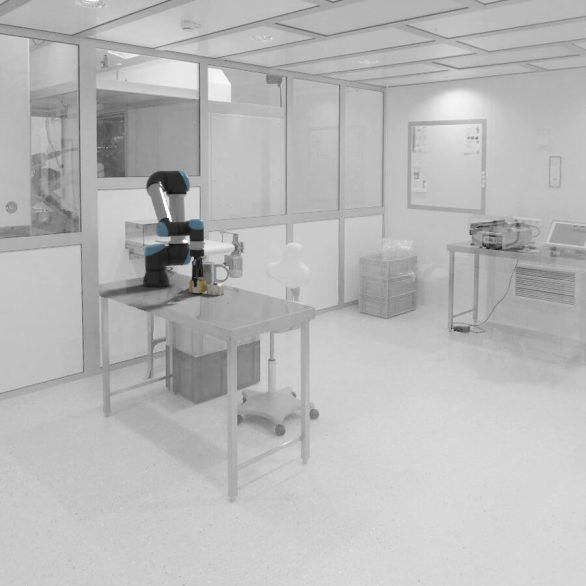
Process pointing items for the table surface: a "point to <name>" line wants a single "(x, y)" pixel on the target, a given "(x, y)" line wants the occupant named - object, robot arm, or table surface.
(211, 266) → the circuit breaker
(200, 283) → the brass gear
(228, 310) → the table surface
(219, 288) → the gear
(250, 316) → the table surface
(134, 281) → the table surface
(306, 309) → the table surface
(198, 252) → the robot arm
